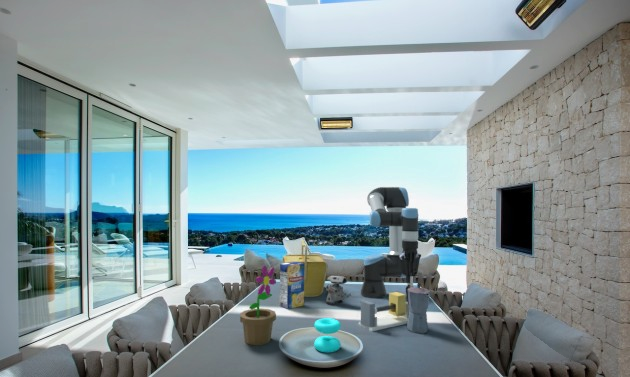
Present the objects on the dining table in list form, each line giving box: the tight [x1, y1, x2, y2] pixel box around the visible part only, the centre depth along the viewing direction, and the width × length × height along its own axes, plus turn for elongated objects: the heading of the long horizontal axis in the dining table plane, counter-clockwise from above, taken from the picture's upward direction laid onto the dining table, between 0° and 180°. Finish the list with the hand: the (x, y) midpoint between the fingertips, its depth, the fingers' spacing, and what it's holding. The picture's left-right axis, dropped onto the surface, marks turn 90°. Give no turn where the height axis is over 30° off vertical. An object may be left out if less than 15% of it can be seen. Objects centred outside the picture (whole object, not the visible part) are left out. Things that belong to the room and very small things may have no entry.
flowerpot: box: [239, 265, 277, 346], centre depth 142 cm, size 14×14×30 cm
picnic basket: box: [281, 239, 329, 298], centre depth 219 cm, size 29×26×30 cm
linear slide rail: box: [358, 299, 410, 332], centre depth 163 cm, size 26×9×11 cm, turn 121°
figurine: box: [325, 275, 352, 306], centre depth 193 cm, size 9×12×15 cm
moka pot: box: [405, 283, 431, 334], centre depth 156 cm, size 10×15×20 cm, turn 27°
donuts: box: [313, 317, 342, 353], centre depth 135 cm, size 10×10×10 cm
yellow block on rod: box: [388, 291, 407, 317], centre depth 167 cm, size 5×6×9 cm
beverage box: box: [279, 262, 305, 310], centre depth 189 cm, size 7×11×22 cm, turn 131°
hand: (409, 289), depth 171 cm, fingers closed
